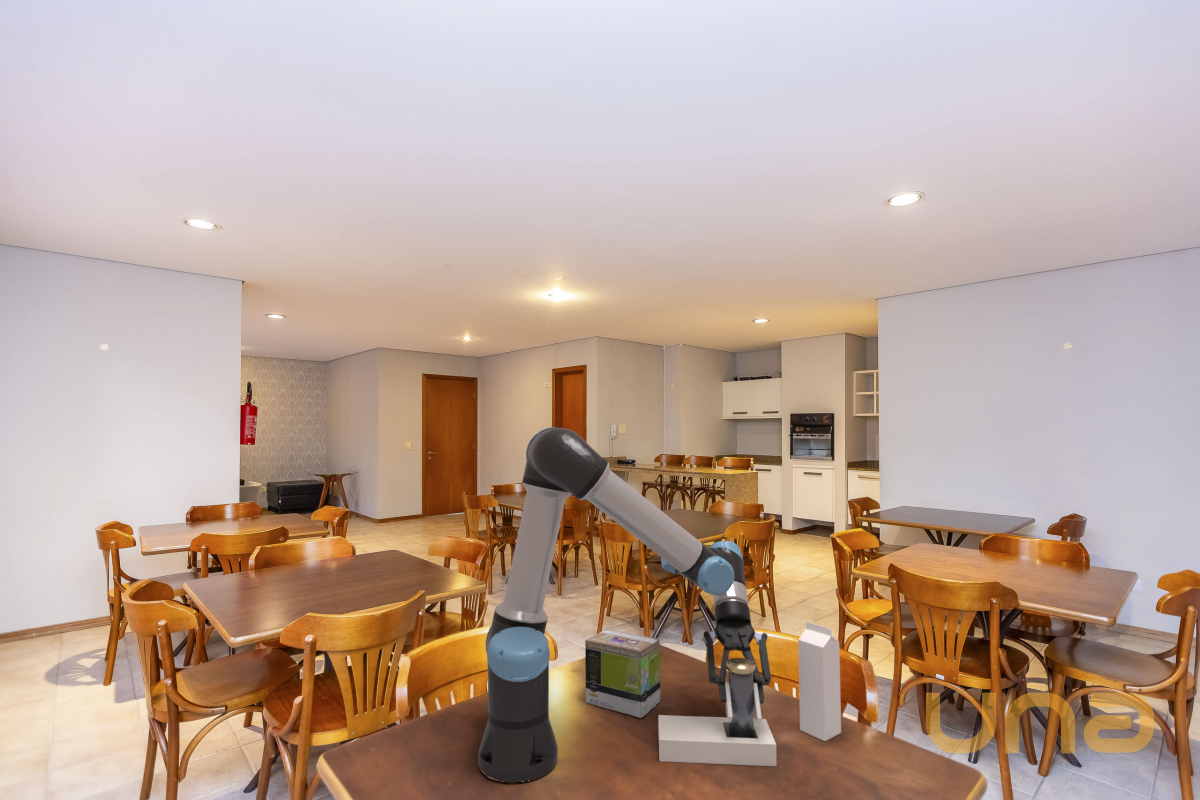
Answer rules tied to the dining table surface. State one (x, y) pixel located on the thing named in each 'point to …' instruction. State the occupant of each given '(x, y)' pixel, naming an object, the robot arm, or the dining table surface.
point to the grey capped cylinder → (741, 697)
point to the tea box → (623, 672)
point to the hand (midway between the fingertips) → (744, 719)
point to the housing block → (713, 742)
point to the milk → (819, 682)
